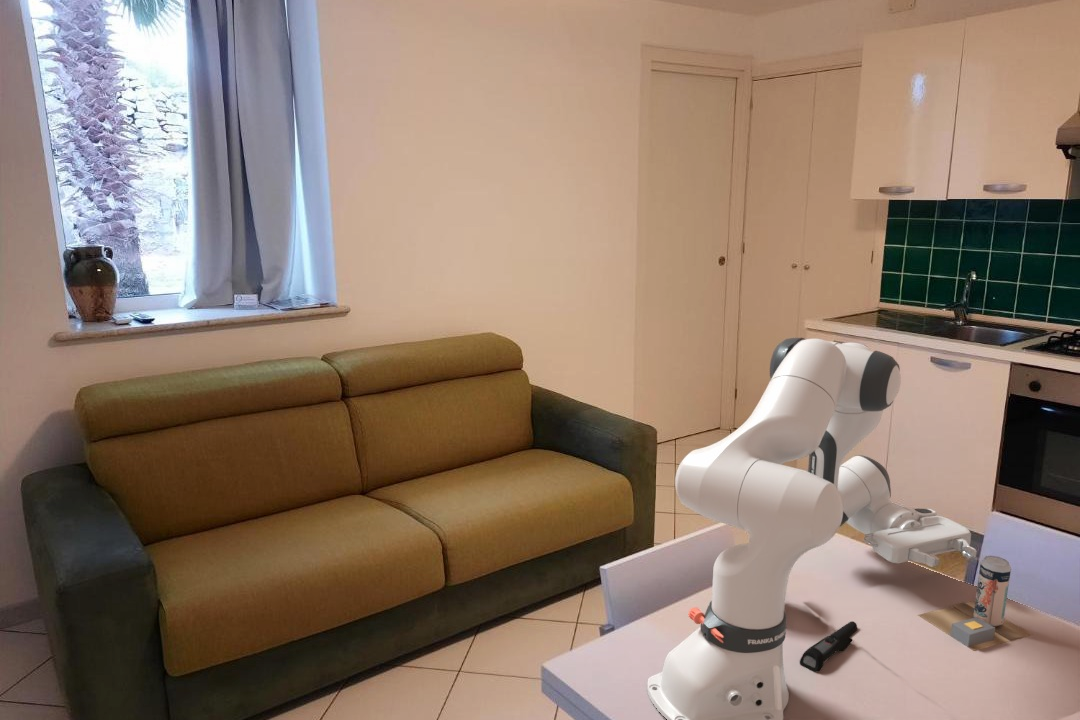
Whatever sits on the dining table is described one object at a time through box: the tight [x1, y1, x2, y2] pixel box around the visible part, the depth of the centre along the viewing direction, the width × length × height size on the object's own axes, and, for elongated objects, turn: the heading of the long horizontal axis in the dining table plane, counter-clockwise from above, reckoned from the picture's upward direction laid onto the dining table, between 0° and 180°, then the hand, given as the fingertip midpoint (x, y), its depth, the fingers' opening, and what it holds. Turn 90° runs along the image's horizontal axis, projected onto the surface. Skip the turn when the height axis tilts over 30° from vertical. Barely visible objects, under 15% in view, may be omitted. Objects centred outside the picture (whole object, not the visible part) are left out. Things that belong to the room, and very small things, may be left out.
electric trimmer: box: [799, 621, 858, 673], centre depth 132 cm, size 4×16×3 cm, turn 131°
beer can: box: [973, 555, 1012, 626], centre depth 137 cm, size 5×5×12 cm
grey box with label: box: [949, 617, 995, 648], centre depth 133 cm, size 6×4×3 cm, turn 110°
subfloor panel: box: [917, 600, 1033, 652], centre depth 137 cm, size 14×12×2 cm
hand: (955, 558), depth 144 cm, fingers open, 8 cm apart
